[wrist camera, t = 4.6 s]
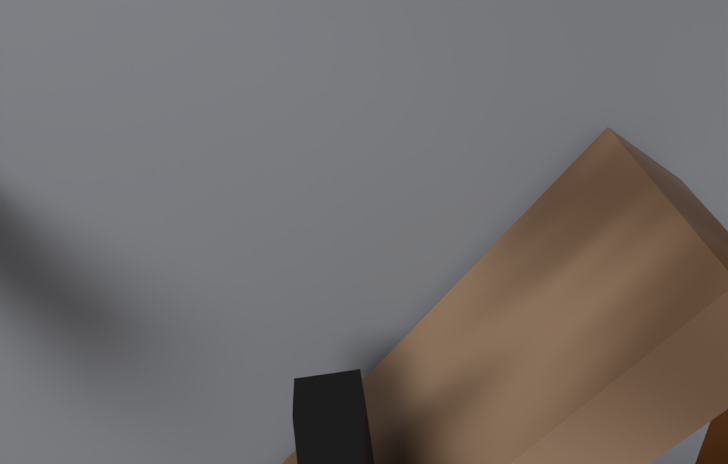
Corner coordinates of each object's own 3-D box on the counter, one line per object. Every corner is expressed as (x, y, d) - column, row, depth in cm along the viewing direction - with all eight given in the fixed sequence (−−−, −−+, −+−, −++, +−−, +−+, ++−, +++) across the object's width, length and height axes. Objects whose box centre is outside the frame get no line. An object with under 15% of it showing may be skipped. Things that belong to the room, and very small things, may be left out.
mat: (664, 527, 21) (668, 536, 20) (93, 608, 20) (91, 618, 20) (939, -264, 9) (958, -265, 8) (-443, -99, 8) (-465, -95, 8)
